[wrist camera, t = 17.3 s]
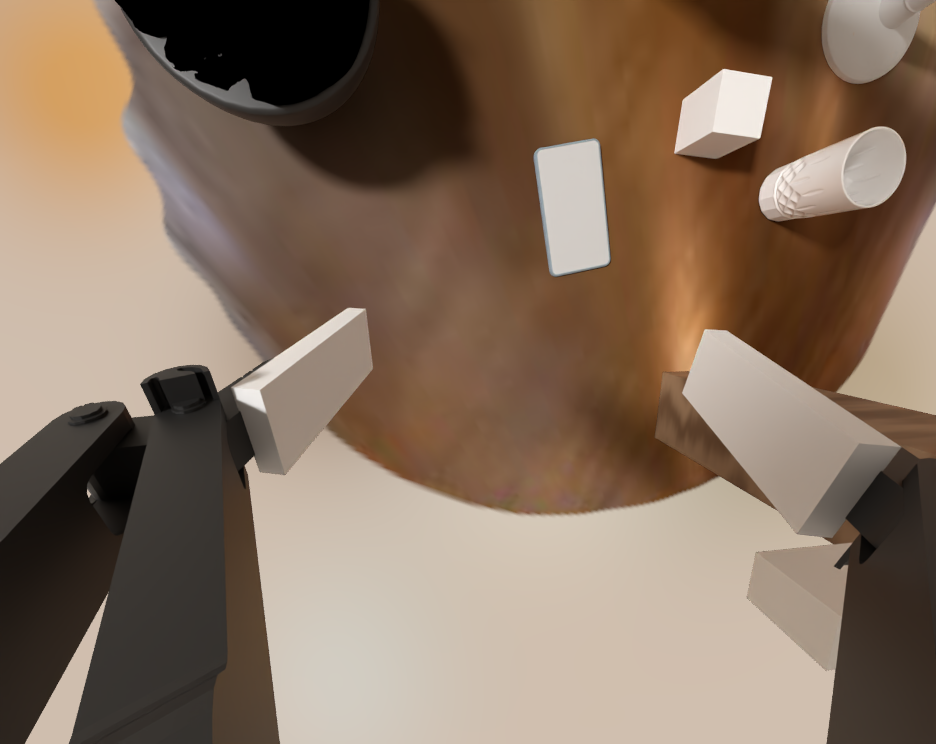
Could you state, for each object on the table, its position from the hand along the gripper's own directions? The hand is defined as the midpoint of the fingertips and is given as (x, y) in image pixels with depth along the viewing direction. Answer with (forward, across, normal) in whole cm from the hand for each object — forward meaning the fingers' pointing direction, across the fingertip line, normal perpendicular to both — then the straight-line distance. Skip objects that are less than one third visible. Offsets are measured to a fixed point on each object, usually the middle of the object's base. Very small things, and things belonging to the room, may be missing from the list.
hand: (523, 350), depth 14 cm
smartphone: (+37, +6, +4) cm, 37 cm away
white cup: (+44, +34, +6) cm, 56 cm away
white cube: (+43, +21, +13) cm, 50 cm away
